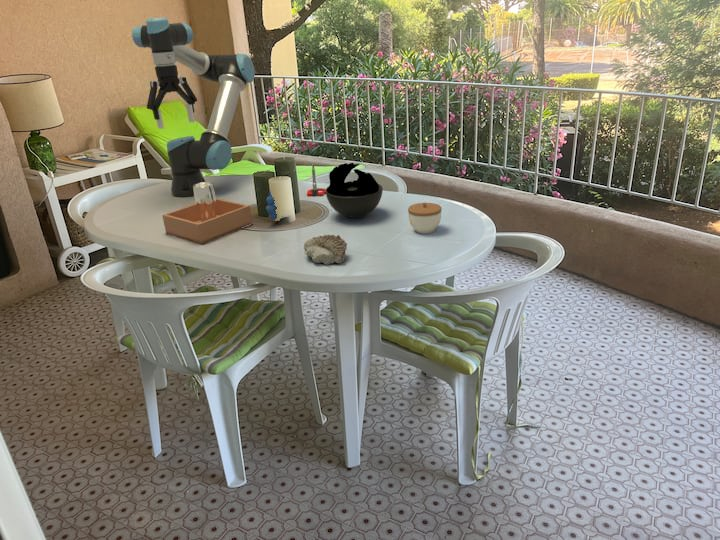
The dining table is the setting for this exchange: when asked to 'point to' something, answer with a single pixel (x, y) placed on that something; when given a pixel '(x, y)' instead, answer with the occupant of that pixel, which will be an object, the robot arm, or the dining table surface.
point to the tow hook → (315, 186)
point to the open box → (207, 222)
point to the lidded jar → (424, 217)
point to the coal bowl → (353, 192)
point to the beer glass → (205, 200)
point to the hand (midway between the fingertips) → (176, 125)
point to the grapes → (271, 207)
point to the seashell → (326, 249)
